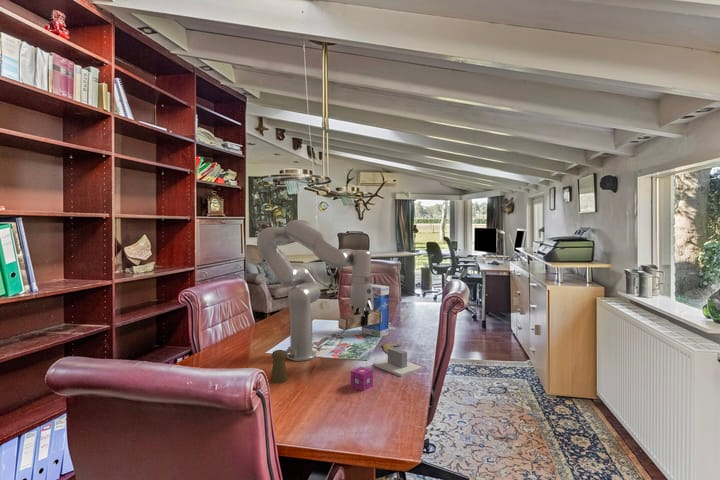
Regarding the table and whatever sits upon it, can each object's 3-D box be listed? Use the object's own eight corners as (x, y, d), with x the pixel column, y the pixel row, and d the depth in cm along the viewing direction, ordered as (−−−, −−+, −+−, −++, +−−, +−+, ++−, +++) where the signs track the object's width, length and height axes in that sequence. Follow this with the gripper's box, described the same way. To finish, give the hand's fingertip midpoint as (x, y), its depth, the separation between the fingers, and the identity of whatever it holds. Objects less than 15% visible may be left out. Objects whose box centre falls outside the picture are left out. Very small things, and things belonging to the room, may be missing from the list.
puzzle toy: (360, 382, 142) (360, 366, 142) (373, 386, 138) (373, 370, 138) (350, 387, 138) (350, 371, 137) (363, 391, 134) (363, 375, 134)
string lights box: (361, 332, 207) (361, 284, 206) (370, 329, 213) (370, 283, 212) (380, 337, 198) (380, 287, 197) (389, 334, 204) (389, 285, 203)
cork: (279, 384, 139) (279, 354, 139) (267, 381, 143) (267, 351, 142) (290, 379, 145) (290, 349, 144) (278, 375, 148) (278, 347, 147)
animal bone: (381, 343, 186) (402, 340, 186) (382, 347, 186) (402, 344, 186) (384, 359, 165) (407, 356, 164) (385, 365, 165) (408, 362, 165)
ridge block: (401, 376, 147) (401, 358, 146) (373, 365, 159) (373, 348, 159) (422, 369, 154) (422, 352, 154) (393, 358, 167) (393, 342, 166)
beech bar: (344, 330, 152) (344, 319, 151) (338, 328, 155) (338, 317, 155) (381, 322, 164) (382, 312, 164) (375, 320, 168) (375, 311, 167)
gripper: (381, 281, 155) (381, 327, 156) (355, 277, 168) (354, 318, 168) (367, 283, 150) (367, 330, 151) (341, 278, 163) (341, 321, 163)
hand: (360, 323), depth 159 cm, fingers closed on beech bar, 4 cm apart
